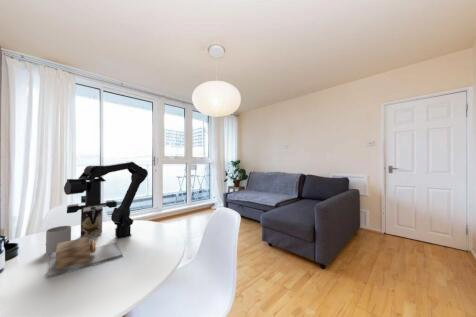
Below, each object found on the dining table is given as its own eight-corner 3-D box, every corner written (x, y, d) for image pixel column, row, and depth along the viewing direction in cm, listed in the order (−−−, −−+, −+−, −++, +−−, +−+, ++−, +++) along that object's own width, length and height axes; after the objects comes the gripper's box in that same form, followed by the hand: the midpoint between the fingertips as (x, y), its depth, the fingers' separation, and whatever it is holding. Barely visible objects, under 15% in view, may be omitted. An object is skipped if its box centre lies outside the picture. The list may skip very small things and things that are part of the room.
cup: (55, 255, 82) (55, 232, 82) (40, 254, 84) (41, 231, 84) (75, 247, 91) (75, 226, 91) (61, 245, 92) (62, 225, 92)
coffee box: (80, 238, 101) (80, 208, 101) (82, 234, 106) (83, 205, 106) (101, 235, 105) (101, 206, 105) (102, 231, 111) (103, 204, 111)
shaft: (94, 249, 84) (94, 238, 84) (95, 253, 80) (95, 242, 80) (51, 260, 75) (51, 248, 75) (50, 265, 71) (50, 252, 71)
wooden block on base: (116, 244, 94) (116, 229, 94) (122, 256, 82) (122, 239, 82) (50, 260, 78) (51, 242, 79) (47, 278, 66) (47, 256, 67)
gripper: (113, 188, 103) (113, 216, 103) (67, 191, 91) (66, 224, 91) (117, 190, 95) (116, 221, 95) (67, 194, 83) (66, 230, 82)
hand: (92, 224), depth 91 cm, fingers closed
